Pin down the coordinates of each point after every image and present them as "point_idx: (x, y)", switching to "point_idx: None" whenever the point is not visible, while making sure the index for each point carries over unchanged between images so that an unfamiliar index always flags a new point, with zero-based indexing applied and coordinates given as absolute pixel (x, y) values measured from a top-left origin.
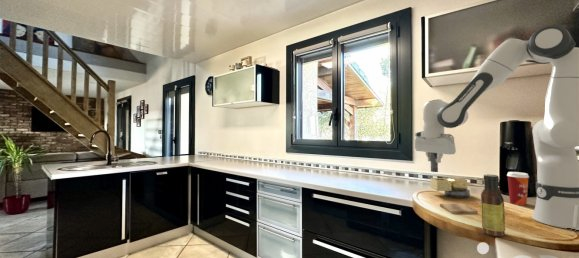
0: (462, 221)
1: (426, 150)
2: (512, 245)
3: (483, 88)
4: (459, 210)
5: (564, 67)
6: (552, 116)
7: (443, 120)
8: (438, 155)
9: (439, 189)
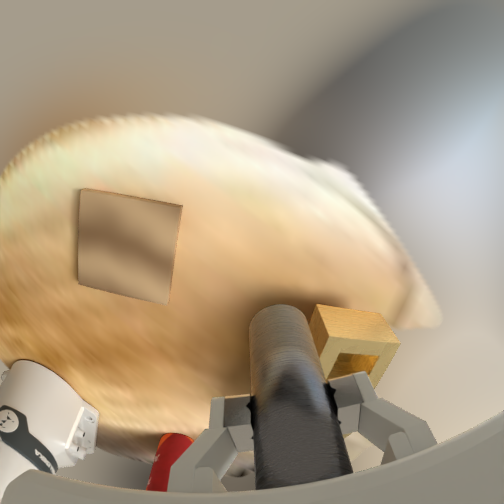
0: (24, 171)
1: (415, 473)
2: None
3: None
4: (86, 226)
5: None
6: None
7: None
8: (191, 469)
9: (313, 318)
